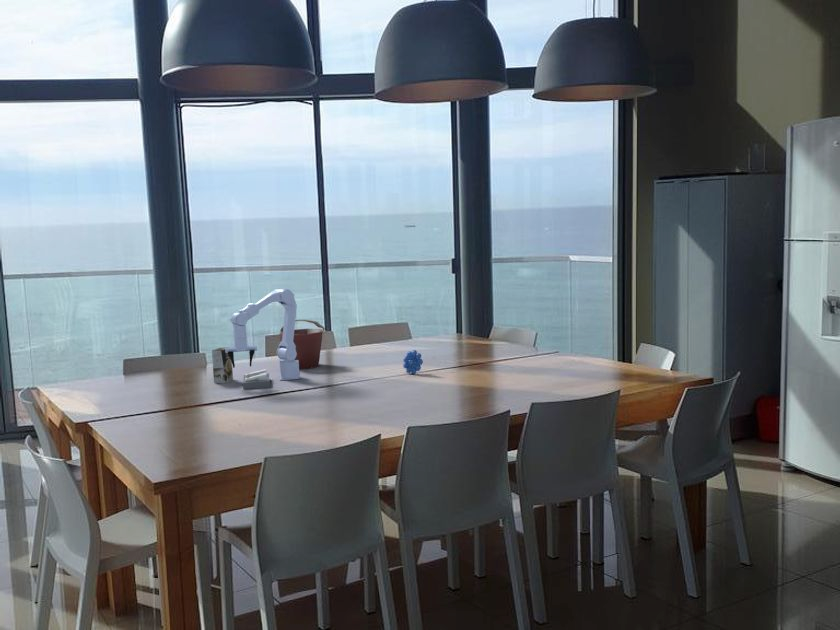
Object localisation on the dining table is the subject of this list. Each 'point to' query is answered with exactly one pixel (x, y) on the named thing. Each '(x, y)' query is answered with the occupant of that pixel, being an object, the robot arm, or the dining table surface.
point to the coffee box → (221, 366)
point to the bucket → (307, 345)
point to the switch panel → (256, 382)
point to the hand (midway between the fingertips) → (242, 366)
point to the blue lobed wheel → (412, 362)
